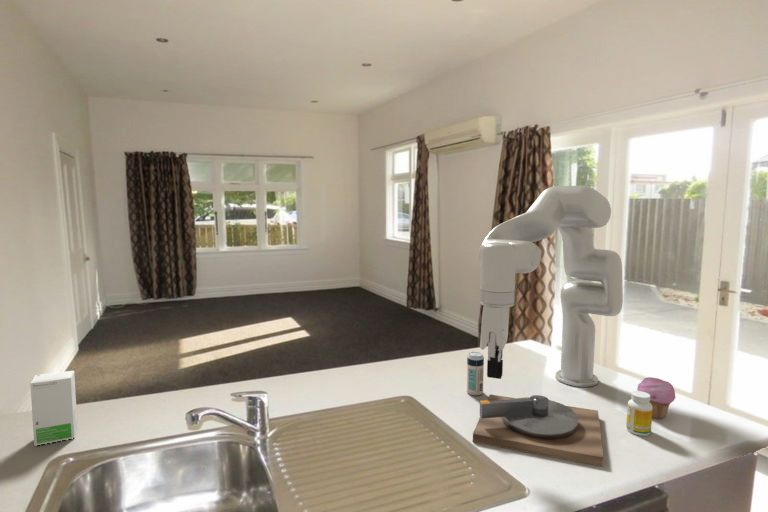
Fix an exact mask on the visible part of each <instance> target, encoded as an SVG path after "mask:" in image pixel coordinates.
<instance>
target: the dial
mask: <svg viewBox="0 0 768 512" xmlns="http://www.w3.org/2000/svg"><path fill="white" fill-rule="evenodd" d="M515 398H516V397H515ZM567 406H568V405H565V404H562V403H560V402H557V401H555V400H550V399H549V398H548V397H547V396H544V395H538V394H536V395H530V396H529V397H528V396H527V397H517V398H516V399H509V400H495V401H488V399H486V400H485V399H484V400H479V418H480V417H481V418H495V417H501V418H502V421H503V422H504V423H505V424H506V425H507V426H508V427H509V428H511V429H512V430H514V431H516V432H519V433H521V434H524V435H527V436H531V437H536V438H544V439H558V438H564V437H568V436H570V435H572V434H574V433H575V432H576V431H577V428H578V416H577V414H576V413H575V412H574V411H573V410H572V409H570V408H569V407H567Z"/></svg>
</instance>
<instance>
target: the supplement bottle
mask: <svg viewBox="0 0 768 512" xmlns="http://www.w3.org/2000/svg"><path fill="white" fill-rule="evenodd" d="M630 398H631V399H629V400H628V401H627V407H626V408H627V409H626V410H627V411H626V422H625V423H626V424H625V425H626V426H625V427H626V430H627V431H628V432H629V433H631V434H633V435H634V436H635V435H636V436H641V437H646V436H649V435H650V434H652V422H653V418H652V410H653V407H652V404H651V403H650V395H649V394H648V393H646V392H642V391H637V390H634V391H632V392H631V397H630Z"/></svg>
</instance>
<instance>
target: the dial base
mask: <svg viewBox="0 0 768 512" xmlns="http://www.w3.org/2000/svg"><path fill="white" fill-rule="evenodd" d="M509 399H516V397H510V396H509V397H508V396H505V395H504V396H503V395H497V394H496V395H495V394H488V397H487V400H488V401H495V400H509ZM566 406H567V407H569V408H570V409H572V410H573V411H574V412H575V413H576V414H577V416H578V428H577V431H576V432H575V433H574V434H572V435H570V436H568V437H564V438H558V439H544V438H536V437H531V436H527V435H524V434H521V433H519V432H516V431H514V430H512V429H511V428H509V427H508V426H507V425H506V424H505V423H504V422H503V421H502V418H501V417H495V418H481V417H480V416H479V418H478V421H477V423H476V425H475V428H474V430H473V432H472V442H474V443H477V444H478V443H479V444H483V445H487V446H494V447H500V448H504V449H510V450H514V451H515V450H516V451H520V452H525V453H530V454H531V453H532V454H536V455H541V456H547V457H550V458H551V457H552V458H557V459H561V460H562V459H563V460H565V461H566V460H567V461H573V462H576V463H577V462H579V463H583V464H588V465H592V466H593V465H594V466H599V467H604V452H603V451H604V450H603V444H602V434H601V433H602V432H601V427H600V426H601V425H600V416H599V410H597V409H590V408H583V407H576V406H570V405H566Z"/></svg>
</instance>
